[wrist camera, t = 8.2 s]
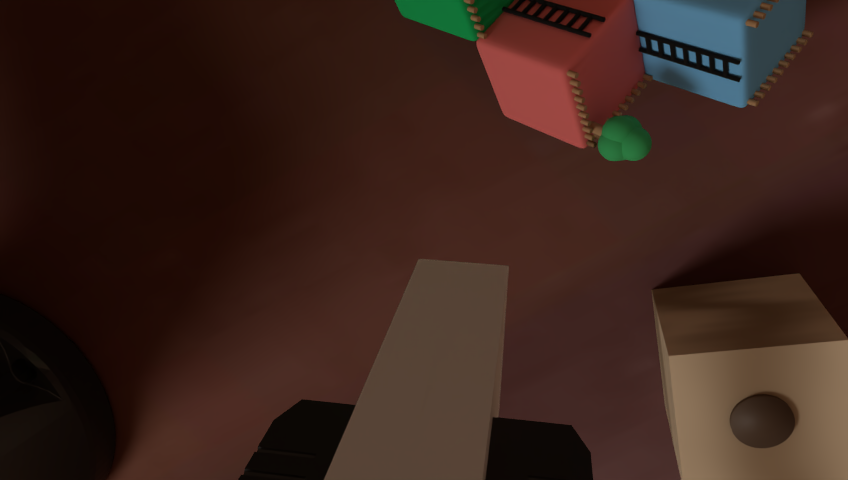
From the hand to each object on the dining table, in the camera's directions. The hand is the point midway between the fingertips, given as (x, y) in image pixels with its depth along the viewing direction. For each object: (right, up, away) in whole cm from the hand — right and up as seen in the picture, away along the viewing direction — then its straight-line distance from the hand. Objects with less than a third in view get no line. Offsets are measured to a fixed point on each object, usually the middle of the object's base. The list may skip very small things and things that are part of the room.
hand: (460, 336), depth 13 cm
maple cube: (+13, -3, +20) cm, 24 cm away
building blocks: (+6, +12, +16) cm, 21 cm away
